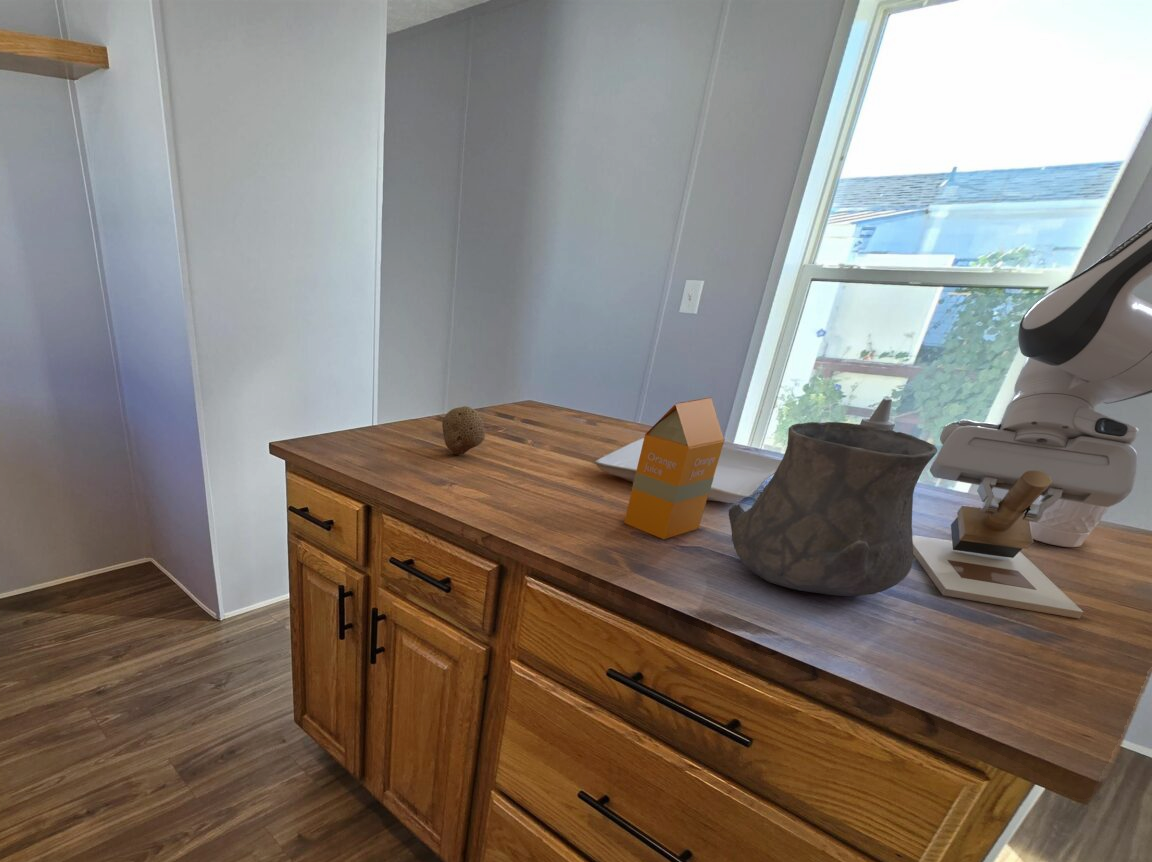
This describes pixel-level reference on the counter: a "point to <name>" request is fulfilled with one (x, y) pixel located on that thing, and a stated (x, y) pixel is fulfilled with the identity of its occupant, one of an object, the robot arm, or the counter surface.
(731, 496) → the square plate
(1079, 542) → the white cup
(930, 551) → the cream rectangular board
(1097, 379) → the robot arm
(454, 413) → the natural sponge
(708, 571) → the counter surface
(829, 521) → the vessel
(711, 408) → the orange juice
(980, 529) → the scrub brush
